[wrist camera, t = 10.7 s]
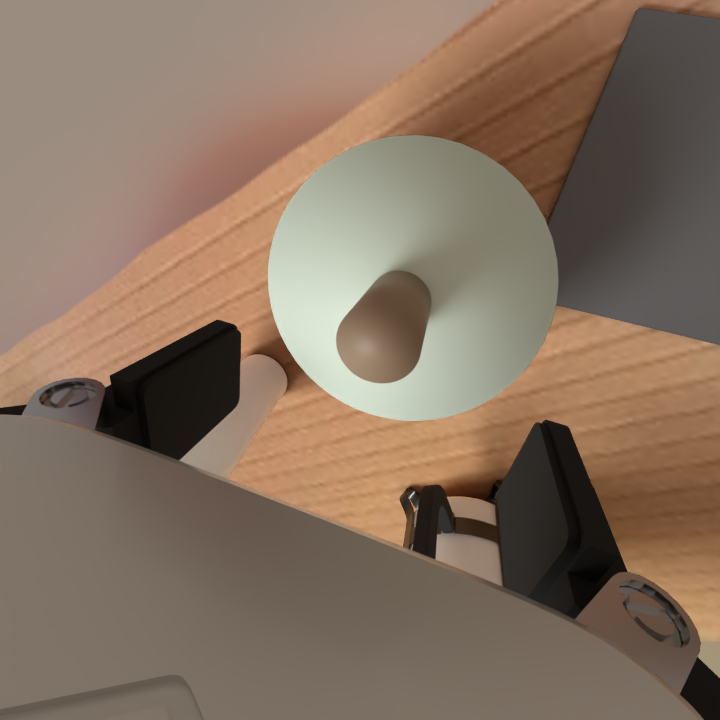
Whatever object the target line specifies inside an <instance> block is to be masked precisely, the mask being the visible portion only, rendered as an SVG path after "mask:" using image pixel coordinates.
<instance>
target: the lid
mask: <svg viewBox="0 0 720 720" xmlns="http://www.w3.org/2000/svg"><path fill="white" fill-rule="evenodd" d="M268 289H269V296H270V304H271V307H272V311H273V315H274V319H275V322H276V325H277V327H278V330H279V332H280V335H281V337H282V339H283V341H284V343H285V345H286V347H287V348H288V350H289V352H290V353H291V355H292V356H293V358H294V359H295V361H296V362H297V363H298V364H299V366H300V367H301V368H302V369H303V370H304V372H305V373H306V374H307V375H308V376H309V377H310V378H311V379H312V380H313V381H314V382H315V383H316V384H317V385H319V386H320V387H321V388H322V389H324V390H325V391H326V392H328V393H329V394H330V395H332V396H333V397H335V398H337V399H338V400H340V401H341V402H343V403H345V404H347V405H349V406H351V407H353V408H355V409H358V410H360V411H363V412H366V413H369V414H372V415H376V416H380V417H384V418H388V419H396V420H406V421H423V420H435V419H440V418H445V417H450V416H454V415H457V414H460V413H463V412H466V411H469V410H471V409H473V408H475V407H477V406H480V405H482V404H484V403H485V402H487V401H489V400H490V399H492V398H494V397H495V396H497V395H498V394H500V393H501V392H502V391H503V390H505V389H506V388H507V387H509V386H510V385H511V384H512V383H513V382H514V381H515V380H516V379H517V378H518V377H519V376H520V375H521V374H522V373H523V372H524V371H525V369H526V368H527V367H528V366H529V364H530V363H531V362H532V360H533V359H534V358H535V356H536V354H537V353H538V351H539V349H540V347H541V346H542V344H543V342H544V340H545V338H546V335H547V333H548V330H549V328H550V325H551V323H552V319H553V315H554V311H555V307H556V303H557V293H558V264H557V257H556V252H555V247H554V243H553V239H552V236H551V233H550V231H549V228H548V225H547V223H546V220H545V218H544V216H543V214H542V213H541V211H540V209H539V207H538V206H537V204H536V202H535V200H534V199H533V198H532V196H531V195H530V194H529V193H528V191H527V190H526V189H525V188H524V186H523V185H522V184H521V183H520V181H519V180H517V179H516V178H515V177H514V176H513V175H512V174H511V173H510V172H509V171H508V170H506V169H505V168H504V167H503V166H502V165H500V164H499V163H497V162H496V161H494V160H493V159H491V158H490V157H488V156H487V155H485V154H484V153H482V152H479V151H477V150H475V149H473V148H471V147H468V146H466V145H464V144H462V143H458V142H454V141H450V140H447V139H443V138H439V137H430V136H421V135H405V136H391V137H386V138H381V139H376V140H372V141H369V142H366V143H364V144H361V145H358V146H355V147H353V148H350V149H349V150H347V151H345V152H343V153H341V154H339V155H338V156H336V157H334V158H332V159H331V160H330V161H328V162H327V163H326V164H324V165H323V166H322V167H320V168H319V169H318V170H316V171H315V172H314V173H313V174H312V175H311V176H310V177H309V178H308V179H307V180H306V181H305V182H304V183H303V184H302V186H301V187H300V188H299V190H298V191H297V192H296V194H295V195H294V196H293V198H292V199H291V200H290V202H289V204H288V206H287V207H286V209H285V211H284V213H283V215H282V216H281V219H280V221H279V224H278V226H277V229H276V232H275V234H274V238H273V242H272V246H271V250H270V257H269V266H268Z"/></svg>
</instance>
